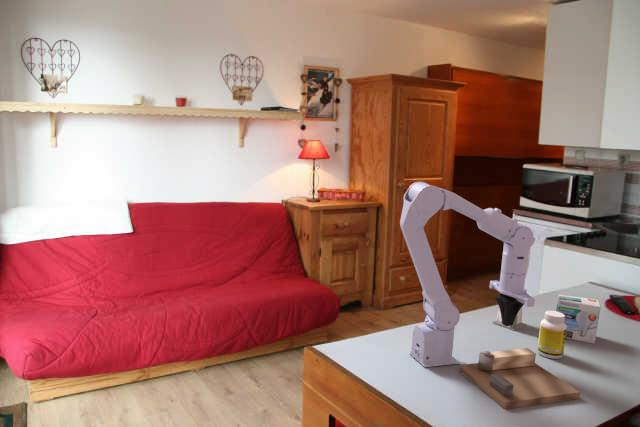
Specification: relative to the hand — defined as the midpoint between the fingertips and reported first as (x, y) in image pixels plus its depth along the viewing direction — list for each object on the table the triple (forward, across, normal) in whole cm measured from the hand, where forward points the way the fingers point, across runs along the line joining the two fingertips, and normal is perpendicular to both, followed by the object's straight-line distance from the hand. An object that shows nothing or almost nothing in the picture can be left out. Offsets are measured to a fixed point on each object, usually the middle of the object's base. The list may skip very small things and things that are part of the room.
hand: (507, 324), depth 127 cm
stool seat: (+9, -12, +6) cm, 16 cm away
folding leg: (+7, -7, +5) cm, 11 cm away
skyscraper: (+9, +20, -17) cm, 28 cm away
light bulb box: (+9, +8, -30) cm, 32 cm away
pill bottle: (+9, 0, -14) cm, 17 cm away
